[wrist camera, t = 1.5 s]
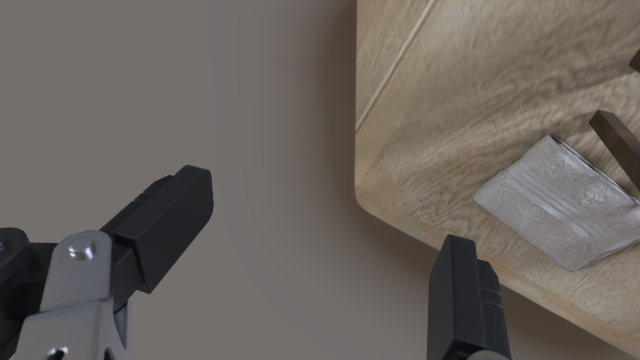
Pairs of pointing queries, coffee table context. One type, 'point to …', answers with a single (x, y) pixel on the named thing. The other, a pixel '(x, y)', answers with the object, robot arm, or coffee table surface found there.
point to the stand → (620, 137)
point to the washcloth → (562, 205)
